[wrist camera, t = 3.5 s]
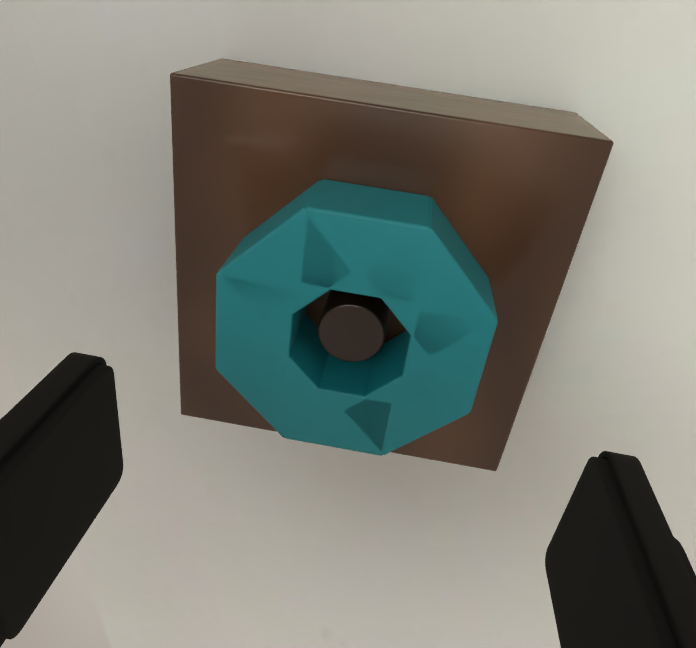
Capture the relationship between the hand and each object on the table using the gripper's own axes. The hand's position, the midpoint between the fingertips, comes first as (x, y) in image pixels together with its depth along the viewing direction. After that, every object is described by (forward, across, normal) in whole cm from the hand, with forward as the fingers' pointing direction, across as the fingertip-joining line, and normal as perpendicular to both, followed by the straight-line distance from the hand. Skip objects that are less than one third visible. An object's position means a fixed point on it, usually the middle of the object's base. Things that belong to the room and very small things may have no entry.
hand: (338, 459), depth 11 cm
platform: (+10, 0, 0) cm, 10 cm away
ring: (+6, 0, 0) cm, 6 cm away
